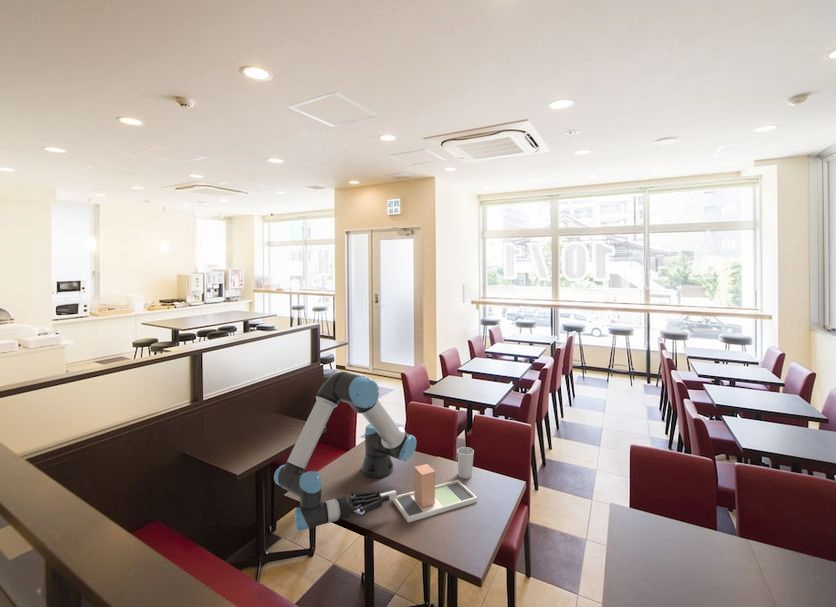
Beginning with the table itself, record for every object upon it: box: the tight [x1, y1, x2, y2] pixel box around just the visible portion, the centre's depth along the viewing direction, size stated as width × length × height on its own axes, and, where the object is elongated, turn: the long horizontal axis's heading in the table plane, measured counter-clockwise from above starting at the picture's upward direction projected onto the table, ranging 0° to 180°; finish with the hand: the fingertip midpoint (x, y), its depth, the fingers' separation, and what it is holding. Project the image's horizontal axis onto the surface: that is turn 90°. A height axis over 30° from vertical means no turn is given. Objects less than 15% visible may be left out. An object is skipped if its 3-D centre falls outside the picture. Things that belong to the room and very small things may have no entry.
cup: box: [456, 446, 475, 479], centre depth 192 cm, size 8×8×12 cm
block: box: [413, 463, 436, 507], centre depth 168 cm, size 7×6×14 cm
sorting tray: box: [392, 479, 478, 523], centre depth 171 cm, size 16×32×2 cm, turn 116°
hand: (395, 494), depth 162 cm, fingers closed
